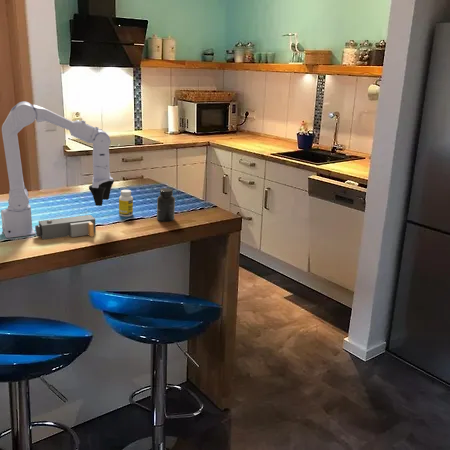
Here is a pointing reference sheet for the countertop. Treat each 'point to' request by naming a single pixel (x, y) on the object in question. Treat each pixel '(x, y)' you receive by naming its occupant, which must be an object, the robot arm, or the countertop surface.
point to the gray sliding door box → (60, 226)
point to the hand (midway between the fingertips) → (102, 202)
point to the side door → (81, 229)
